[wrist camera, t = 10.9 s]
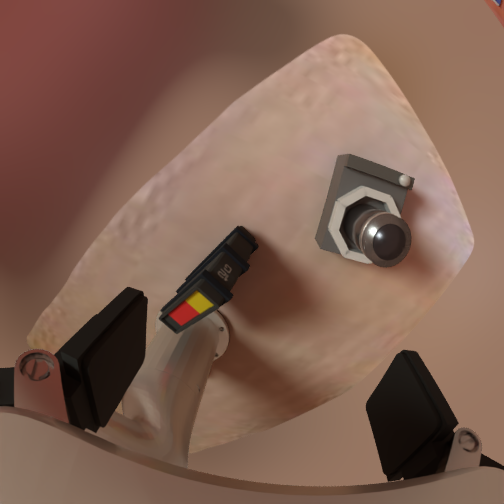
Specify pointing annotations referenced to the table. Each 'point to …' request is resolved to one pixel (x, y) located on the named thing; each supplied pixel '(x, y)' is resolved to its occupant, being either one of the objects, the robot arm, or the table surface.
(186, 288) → the black device
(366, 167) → the camera body
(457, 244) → the table surface
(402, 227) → the lens
